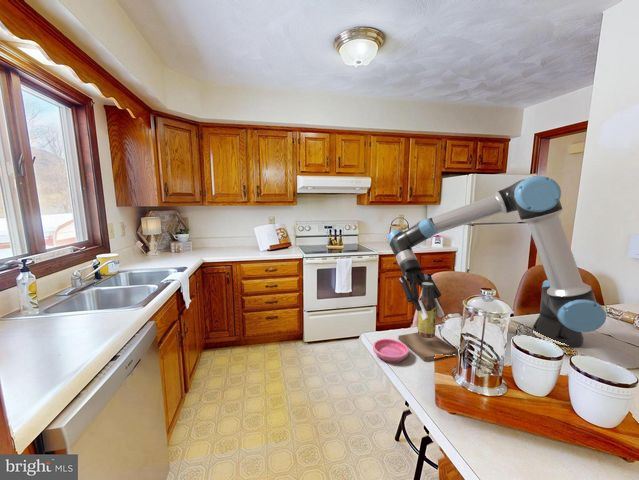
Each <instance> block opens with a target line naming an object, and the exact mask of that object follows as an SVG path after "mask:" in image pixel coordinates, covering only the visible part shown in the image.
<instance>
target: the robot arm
mask: <svg viewBox="0 0 639 480" xmlns="http://www.w3.org/2000/svg"><path fill="white" fill-rule="evenodd" d="M561 197H562V189H561V186H560V185H559V183H558V182H556V180H555V179H553V178H551V177H548V176H542V175H534V176H528V177H527V178H524V179H521V180H518V181H516V182H514V183H513V184H511V185H509V186H507V187H505V188H503V189H500V190H498V191H497V190H496V192H495V194H493V195H491V196H489V197H485V198H483V199H479V200H477V201H474V202H472V203H469V204H465V205H462V206H460V207H457V208H454V209H452V210H449V211H447V212H443V213H440V214H437V215H435V216H432V217H430V218H424V219H423V220H420V221H418V222H417V223H416V224H414V225H413V226H411V227H409V228H408V229H406V230H404V231H403V229H396V230H392V231H391V232H389V233H388V235H387V242H388V243H389V247H390V248H391V250H392V253H393V255H394V257H395V259H396V262H397V264H398V266H399V269H400V270H401V273H402V276H400V277H399V279H398V281H399V283H400V284H401V287H402V289H403V292H404V295H405V298H406V300H407V302H408V303H411V304H412V305H414V307H415V310H416V311H417V312H418V311H419V312H420V315H421V317H422V319H423V320H426V319H427V318H428V315H427V313H426V311H425V308H424V306H423V304H422V302H421V300H419V296H418V288H417V285H418V286H419V287H421V288H422V283H423V282H429V283H433V284H434V288H433V297H434V300H435V303H436V316H437V317H438V318H439V319H440V318H442V317H444V316H445V313H444V310H443V308H442V304H441V302H440V299H439V298H440V297H441V296H442V293H441V292H440V290H439V288H438V286H437V285H436V283H435V282H434V280H433V278H432V277H433V276H432V274H431V273H428V274H425V273H424V272H423V271H422V267H421V265H420V263H419V261H418V258H417V256H416V254H415V253H414V251H413V248H414V247H416V246H417V245H419V244H421V243H423V242H425V241H427V240H428V239H431V238H432V237H433V236H435V235H437V234H440V233H442V232H446V231H450V230H452V229H455V228H457V227H461V226H465V225H468V224H471V223H473V222H476V221H479V220H482V219H486V218H489V217H491V216H494V215H498V214H501V213H502V214H505V215H506V214H508V213H513V212H517V213H518V216H519V218H520V221H522V222H524V223H526V224H528V229H529V232H530V234H531V236H532V239H533V241H534V245H535V247H536V250H537V253H538V255H539V258H540V262H541V264H542V266H543V269H544V274H545V276H546V279H545V280H544V281H542V286H541V296H540V297H541V298H540V306H539V314H538V317H537V318H536V321H535V322H534V324H533V325H532V330H534V331H536V332H538V333H540V334H542V335H544V336H546V337H549V338H551V339H553V340H556V341H559V342H561V343H565V344H567V345H569V346H571V347H570V348H579V347H582V346H583V344H584V336H583V333H589V332H594V331H598V329H600V328H601V327H602V326H603V325H605V322H606V320H607V313H606V311H605V309H604V308H603V306H602V305H601V304H600V303H599V302H597V300H596V297H595V294H594V291H593V288H592V286H591V285H590V284H587V283H585V282H583V279H582V276H581V273H580V270H579V268H578V265H577V262H576V260H575V257H574V254H573V251H572V248H571V246H570V244H569V240H568V238H567V235H566V232H565V229H564V226H563V224H562V221H561V218H560V214H561V213H562V212H563V207H562V203H561Z"/></svg>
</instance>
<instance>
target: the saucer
mask: <svg viewBox="0 0 639 480" xmlns="http://www.w3.org/2000/svg"><path fill="white" fill-rule="evenodd" d="M372 350H373V351H374V353H375V355H377V356H378V358H380V360H383V361H385V362H389V363H399V362H402V361H403V360H404V359H406V358H407V357H408V356H409V354H410V349H409V348H408V347H407V346H406V345H405V344H404V343H402V342H401V341H400V340H398V339H393V338H382V339H378V340H376V341H374V342H373V345H372Z"/></svg>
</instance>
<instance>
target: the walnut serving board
mask: <svg viewBox="0 0 639 480" xmlns="http://www.w3.org/2000/svg"><path fill="white" fill-rule="evenodd" d="M397 340H398V341H400V342H402V343H404V344H405V345H406V346H407V347H408V349H409V351H412V352H413V353H414V354H415V355H416V356H417V357H418V358H420V359H421V360H422V362H423V361H424V362H428V361H434V360H435V359H434V357H435V354H443V355H453V354H459V350H458V349H457V348H455V347H453V346H452V345H451V344H449V343H448V342H446V341H445V340H443V339H442V338H440V337H439V336H437V335H436V334H435V336H434V337H433V338H424V337H421V336H420V335H419V334H418V331H417V332H413V333H405V334H400V335H398V338H397ZM453 356H454V355H453Z"/></svg>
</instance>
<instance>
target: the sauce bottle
mask: <svg viewBox="0 0 639 480" xmlns="http://www.w3.org/2000/svg"><path fill="white" fill-rule="evenodd" d="M421 288H422V292H421V296H420V297H419V298H418V301H419V300H421V302H422V304H423V306H424V308H425V311H426V313H427V315H428V318H427V319H426V320H423V319H422V317H421V315H420V312H419V311H417V332H418V334H419V335H420V336H421V337H424V338H433V337H434V336H435V335H436V328H437V327H436V326H437V313H436V303H435V300H434V297H433V288H434V284H433V283H429V282H422V287H421Z"/></svg>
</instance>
